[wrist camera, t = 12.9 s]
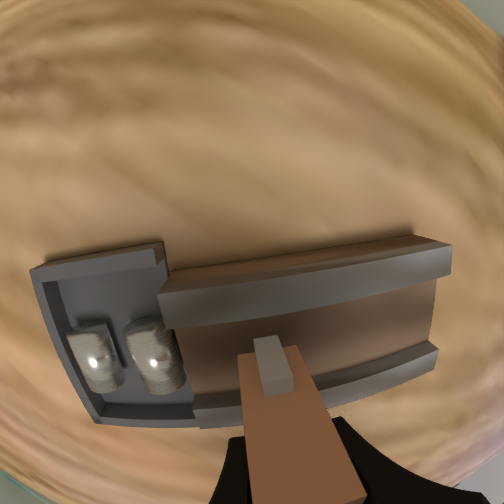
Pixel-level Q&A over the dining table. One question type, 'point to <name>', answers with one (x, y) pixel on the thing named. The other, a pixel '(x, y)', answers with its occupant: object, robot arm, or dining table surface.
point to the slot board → (309, 319)
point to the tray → (112, 328)
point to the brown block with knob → (291, 432)
